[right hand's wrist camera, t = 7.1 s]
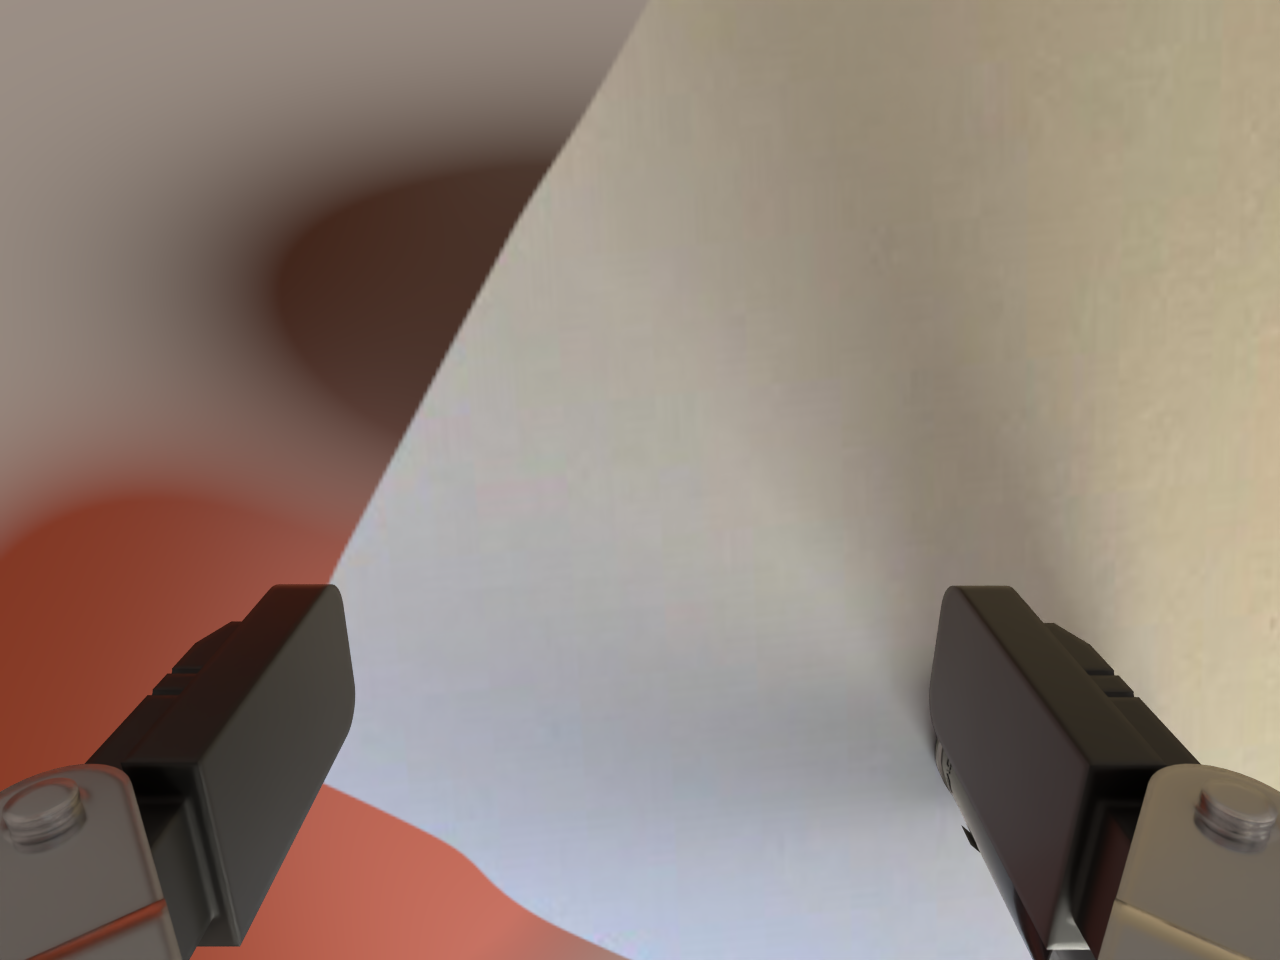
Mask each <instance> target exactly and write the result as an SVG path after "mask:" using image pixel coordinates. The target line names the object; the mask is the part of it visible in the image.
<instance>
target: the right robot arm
mask: <svg viewBox="0 0 1280 960" xmlns="http://www.w3.org/2000/svg"><path fill="white" fill-rule="evenodd" d="M1133 693H1134V692H1133V691H1132V689H1131V688H1130V687H1129V686H1128V685H1127V684H1126V683H1125V682H1124V681H1123V680H1122V679H1121V678H1120V677H1119V676H1114V670H1113V669H1112V668H1111V667H1110V666H1109V665H1108V664H1107V662H1106V661H1105V660H1104V659H1103V658H1102V657H1101V656H1100V655H1099V654H1098V653H1097V652H1096V651H1095V650H1094V648H1093V647H1092V646H1091V645H1090V644H1088V643H1086V642H1085V641H1083V640H1081V639H1080V638H1078V637H1076V636H1075V635H1073V634H1071V633H1070V632H1068V631H1066V630H1065V629H1063V628H1061V627H1060V626H1058V625H1056V624H1055V623H1043V622H1042V621H1041V620H1040V618H1039V617H1038V616H1037V615H1036V614H1035V613H1034V612H1033V610H1032V609H1031V608H1030V607H1029V606H1028V605H1027V604H1026V602H1025V601H1024V600H1023V599H1022V598H1021V597H1020V595H1019V594H1018V593H1017V592H1016V591H1015V590H1014V589H1013V588H1012V587H1010V586H950V587H949V588H948V589H947V590H946V592H945V594H944V597H943V600H942V605H941V612H940V619H939V626H938V633H937V640H936V647H935V653H934V660H933V667H932V674H931V681H930V689H929V703H930V713H931V719H932V723H933V727H934V730H935V733H936V735H937V742H936V749H935V756H936V763H937V767H938V770H939V773H940V775H941V777H942V779H943V781H944V783H945V785H946V787H947V788H948V790H949V791H950V793H951V794H952V795H953V797H954V799H955V801H956V803H957V805H958V807H959V809H960V811H961V813H962V816H963V818H964V820H965V822H966V824H967V826H968V829H969V831H970V832H969V831H968V830H966V829H965V828H964V827H963V826H962V828H963V830H964V832H965V834H966V836H967V838H968V840H969V842H970V844H971V845H972V846H973V847H974V848H975V849H976V850H978V851H979V852H980V853H981V855H982V857H983V859H984V861H985V863H986V865H987V867H988V869H989V871H990V873H991V875H992V877H993V879H994V881H995V884H996V886H997V888H998V890H999V892H1000V894H1001V896H1002V898H1003V900H1004V902H1005V904H1006V906H1007V908H1008V910H1009V912H1010V914H1011V916H1012V918H1013V920H1014V922H1015V924H1016V926H1017V928H1018V930H1019V932H1020V934H1021V936H1022V939H1023V941H1024V943H1025V945H1026V947H1027V949H1028V951H1029V953H1030V955H1031V957H1032V959H1033V960H1280V792H1279V791H1277V790H1275V789H1274V788H1272V787H1270V786H1268V785H1266V784H1264V783H1262V782H1260V781H1258V780H1255V779H1253V778H1250V777H1248V776H1245V775H1243V774H1240V773H1237V772H1234V771H1230V770H1227V769H1223V768H1218V767H1214V766H1208V765H1201V764H1200V763H1199V762H1198V761H1197V760H1196V758H1195V757H1194V756H1193V755H1192V754H1191V753H1190V752H1189V751H1188V750H1187V749H1186V748H1185V747H1184V746H1183V744H1182V743H1181V742H1180V741H1179V740H1178V739H1177V738H1176V737H1175V736H1174V735H1173V734H1172V733H1171V732H1170V730H1169V729H1168V728H1167V727H1166V726H1165V725H1164V724H1163V723H1162V722H1161V721H1160V720H1159V719H1158V718H1157V716H1156V715H1155V714H1154V713H1153V712H1152V711H1151V710H1150V709H1149V708H1148V707H1147V706H1146V705H1145V703H1144V702H1143V701H1142V700H1141V699H1140V698H1139V697H1134V694H1133ZM354 706H355V684H354V677H353V670H352V663H351V656H350V649H349V642H348V635H347V628H346V621H345V614H344V607H343V601H342V597H341V594H340V591H339V589H338V588H337V587H336V586H335V585H333V584H279V585H275V586H273V587H272V588H271V589H270V590H269V591H268V592H267V593H266V594H265V595H264V597H263V598H262V599H261V600H260V601H259V602H258V604H257V605H256V606H255V607H254V608H253V609H252V611H251V612H250V613H249V614H248V615H247V616H246V617H245V619H244V620H243V621H242V622H230V623H228V624H227V625H225V626H223V627H222V628H220V629H218V630H217V631H215V632H213V633H212V634H210V635H208V636H207V637H205V638H203V639H202V640H200V641H198V642H197V643H195V644H194V645H193V646H192V648H191V649H190V650H189V651H188V652H187V653H186V654H185V655H184V656H183V657H182V658H181V659H180V661H179V662H178V663H177V664H176V665H175V666H174V667H173V668H172V674H167V675H166V676H165V677H164V678H163V679H162V680H161V681H160V682H159V683H158V684H157V686H156V687H155V688H154V689H153V693H152V695H147V697H146V698H145V699H144V700H143V701H142V702H141V703H140V704H139V705H138V706H137V707H136V708H135V710H134V711H133V712H132V713H131V714H130V715H129V716H128V717H127V718H126V719H125V720H124V721H123V723H122V724H121V725H120V726H119V727H118V728H117V729H116V730H115V731H114V732H113V733H112V735H111V736H110V737H109V738H108V739H107V740H106V741H105V742H104V743H103V744H102V745H101V747H100V748H99V749H98V750H97V751H96V752H95V753H94V754H93V755H92V756H91V757H90V759H89V760H88V761H87V762H86V763H85V764H80V765H72V766H66V767H62V768H57V769H53V770H50V771H47V772H43V773H40V774H37V775H35V776H32V777H30V778H27V779H25V780H22V781H20V782H18V783H16V784H14V785H12V786H10V787H8V788H6V789H5V790H3V791H1V792H0V960H189V959H190V957H191V956H192V954H193V952H194V950H195V949H196V947H197V946H240V945H241V943H242V941H243V939H244V937H245V935H246V933H247V932H248V930H249V928H250V926H251V924H252V922H253V920H254V918H255V916H256V914H257V912H258V910H259V908H260V906H261V904H262V902H263V900H264V898H265V896H266V894H267V892H268V890H269V888H270V886H271V884H272V882H273V880H274V878H275V876H276V874H277V872H278V870H279V869H280V867H281V865H282V863H283V861H284V859H285V857H286V855H287V853H288V851H289V849H290V847H291V845H292V843H293V841H294V839H295V837H296V835H297V833H298V831H299V829H300V827H301V825H302V823H303V821H304V819H305V817H306V815H307V813H308V812H309V810H310V808H311V806H312V804H313V802H314V800H315V798H316V796H317V794H318V792H319V790H320V788H321V786H322V784H323V782H324V780H325V778H326V776H327V774H328V772H329V770H330V768H331V766H332V764H333V762H334V760H335V758H336V756H337V754H338V753H339V751H340V749H341V747H342V745H343V743H344V741H345V739H346V737H347V735H348V732H349V730H350V727H351V723H352V719H353V714H354Z"/></svg>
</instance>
